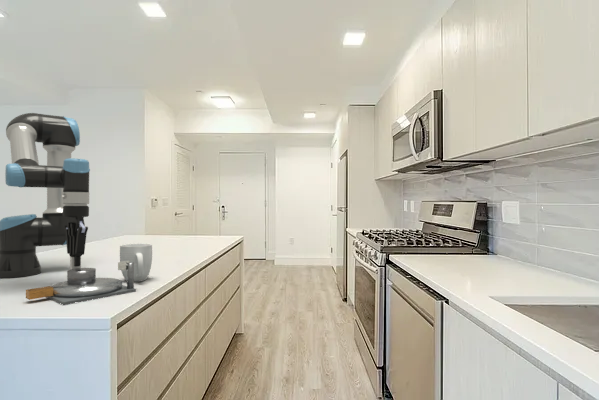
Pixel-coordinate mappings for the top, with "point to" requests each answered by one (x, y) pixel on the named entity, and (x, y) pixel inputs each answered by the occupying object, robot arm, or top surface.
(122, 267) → the post
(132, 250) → the mug
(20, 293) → the top surface
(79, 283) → the dark grey bowl
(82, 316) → the top surface
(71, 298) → the base plate
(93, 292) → the turntable
